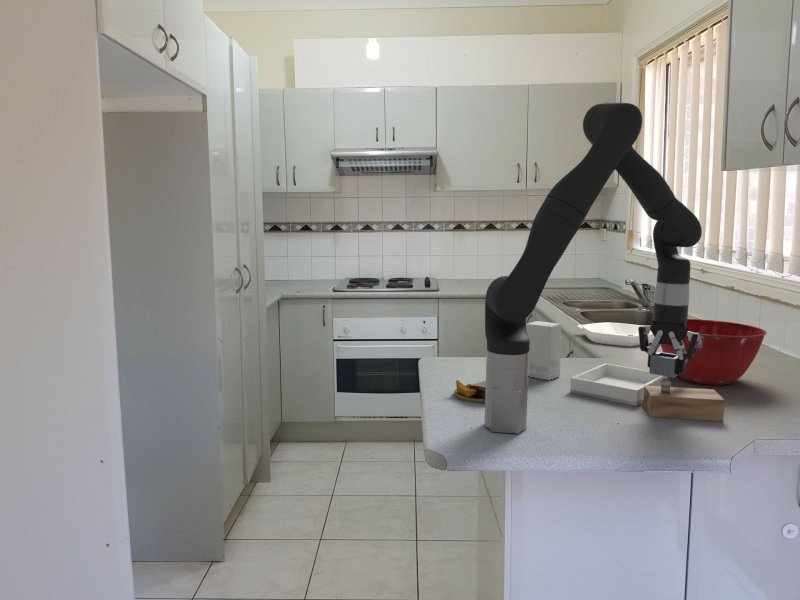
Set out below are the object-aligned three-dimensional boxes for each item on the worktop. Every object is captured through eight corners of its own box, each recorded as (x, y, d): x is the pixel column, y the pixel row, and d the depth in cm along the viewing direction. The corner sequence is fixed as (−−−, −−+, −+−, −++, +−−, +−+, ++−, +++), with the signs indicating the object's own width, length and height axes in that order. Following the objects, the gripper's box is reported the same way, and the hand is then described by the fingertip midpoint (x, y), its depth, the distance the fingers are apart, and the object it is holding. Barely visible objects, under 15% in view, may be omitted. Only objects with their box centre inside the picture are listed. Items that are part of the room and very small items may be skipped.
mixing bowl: (657, 362, 207) (661, 314, 205) (760, 374, 194) (765, 323, 192) (645, 383, 182) (649, 329, 180) (762, 398, 169) (768, 340, 167)
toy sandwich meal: (484, 388, 177) (484, 370, 177) (515, 401, 166) (516, 383, 165) (444, 393, 172) (445, 376, 171) (474, 408, 160) (474, 389, 159)
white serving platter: (567, 341, 240) (568, 329, 240) (586, 330, 262) (587, 319, 261) (655, 351, 225) (656, 339, 224) (668, 339, 246) (669, 328, 245)
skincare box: (560, 377, 188) (563, 323, 186) (548, 381, 184) (551, 326, 181) (535, 372, 194) (537, 320, 192) (522, 376, 189) (524, 322, 187)
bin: (636, 406, 162) (637, 390, 161) (570, 392, 173) (570, 377, 172) (666, 388, 178) (667, 373, 177) (604, 376, 189) (605, 363, 189)
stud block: (723, 421, 151) (725, 387, 150) (649, 416, 154) (652, 382, 153) (712, 409, 160) (714, 377, 159) (643, 405, 163) (645, 373, 161)
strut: (694, 366, 164) (696, 348, 164) (673, 377, 152) (675, 359, 152) (671, 362, 168) (673, 345, 167) (649, 373, 156) (650, 355, 155)
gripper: (708, 303, 152) (702, 374, 154) (646, 297, 161) (641, 364, 164) (698, 307, 146) (692, 380, 149) (634, 300, 156) (629, 369, 158)
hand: (665, 371), depth 156 cm, fingers closed on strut, 5 cm apart
